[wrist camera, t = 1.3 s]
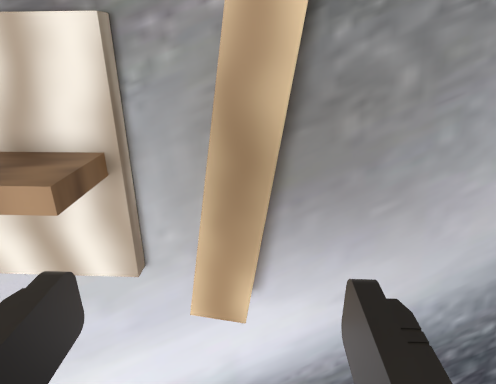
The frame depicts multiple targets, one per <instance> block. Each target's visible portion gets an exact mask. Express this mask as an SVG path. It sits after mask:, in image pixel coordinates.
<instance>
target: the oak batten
mask: <svg viewBox="0 0 496 384" xmlns="http://www.w3.org/2000/svg"><path fill="white" fill-rule="evenodd" d="M307 4H308V0H225V4H224V13H223V22H222V31H221V40H220V49H219V58H218V67H217V77H216V86H215V95H214V104H213V113H212V122H211V131H210V140H209V149H208V158H207V167H206V177H205V186H204V195H203V204H202V213H201V222H200V231H199V240H198V249H197V258H196V268H195V277H194V286H193V295H192V304H191V313H190V315H195V316H201V317H208V318H214V319H221V320H227V321H233V322H240V323H246V318H247V313H248V308H249V303H250V297H251V292H252V287H253V282H254V277H255V272H256V267H257V261H258V256H259V251H260V246H261V241H262V236H263V231H264V225H265V220H266V215H267V210H268V205H269V200H270V194H271V189H272V184H273V179H274V174H275V169H276V164H277V158H278V153H279V148H280V143H281V138H282V133H283V128H284V122H285V117H286V112H287V107H288V102H289V97H290V92H291V86H292V81H293V76H294V71H295V66H296V61H297V56H298V50H299V45H300V40H301V35H302V30H303V25H304V19H305V14H306V9H307Z"/></svg>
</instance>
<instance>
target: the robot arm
mask: <svg viewBox="0 0 496 384" xmlns="http://www.w3.org/2000/svg"><path fill="white" fill-rule="evenodd" d="M83 323H84V310H83V306H82V302H81V298H80V294H79V289H78V285H77V281H76V277H75V275H74V274H73V273H72V272H64V271H44V272H42V273H40V274H39V275H38V276H37V277H36V278H35V279H34V280H33V281H32V282H31V283H30V284H29V285H28V286H27V287H26V288H22V289H21V290H19V291H17V292H16V293H14V294H12V295H11V296H9V297H8V298H6V299H4V300H3V301H2V302H1V303H0V384H48V383H49V381H50V380H51V378H52V377H53V375H54V374H55V372H56V370H57V369H58V367H59V366H60V364H61V363H62V361H63V360H64V358H65V356H66V355H67V353H68V352H69V350H70V349H71V347H72V346H73V344H74V343H75V341H76V339H77V338H78V336H79V335H80V333H81V330H82V328H83ZM342 339H343V344H344V348H345V352H346V355H347V359H348V363H349V366H350V370H351V374H352V377H353V381H354V384H452V382H451V381H450V379H449V377H448V375H447V373H446V372H445V370H444V368H443V366H442V365H441V363H440V361H439V359H438V358H437V356H436V354H435V352H434V350H433V349H432V347H431V346H429V342H428V340H427V338H426V336H425V334H424V333H423V332H422V331H421V327H420V326H419V324H418V322H417V320H416V318H415V317H414V315H413V313H412V312H411V311H410V310H409V309H408V308H406V307H405V306H404V305H403V304H402V303H401V302H400V301H399V300H398V299H386V297H385V295H384V293H383V291H382V289H381V287H380V285H379V283H378V282H377V280H366V279H349V280H348V281H347V285H346V293H345V300H344V307H343V315H342Z"/></svg>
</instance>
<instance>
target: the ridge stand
mask: <svg viewBox="0 0 496 384" xmlns="http://www.w3.org/2000/svg"><path fill="white" fill-rule="evenodd" d="M144 267H145V261H144V254H143V247H142V240H141V233H140V227H139V220H138V213H137V206H136V199H135V192H134V185H133V179H132V172H131V165H130V158H129V151H128V144H127V138H126V131H125V124H124V117H123V110H122V103H121V97H120V90H119V83H118V76H117V69H116V62H115V56H114V49H113V42H112V35H111V28H110V21H109V14H108V13H105V12H100V11H35V12H0V273H7V274H40V273H42V272H44V271H64V272H72V273H73V274H74V275H82V276H120V277H139V276H140V274H141V272H142V270H143V269H144Z"/></svg>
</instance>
